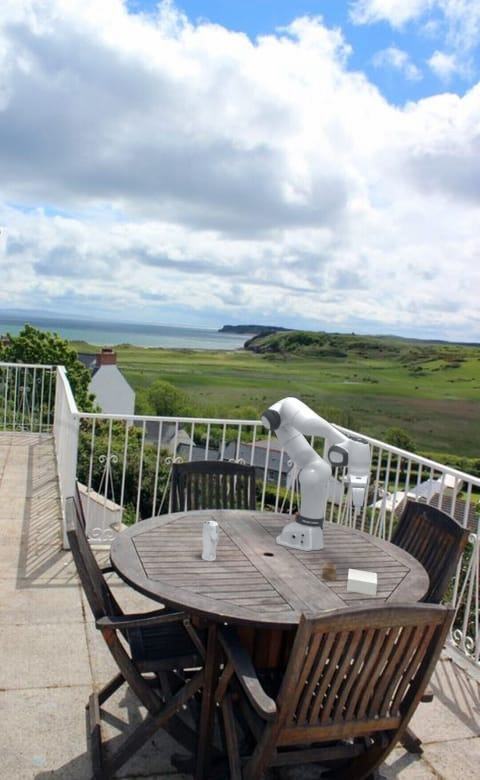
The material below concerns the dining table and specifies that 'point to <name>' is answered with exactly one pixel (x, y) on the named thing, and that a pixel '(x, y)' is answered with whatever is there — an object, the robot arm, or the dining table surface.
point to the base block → (362, 582)
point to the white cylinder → (210, 540)
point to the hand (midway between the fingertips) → (357, 511)
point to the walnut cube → (329, 572)
